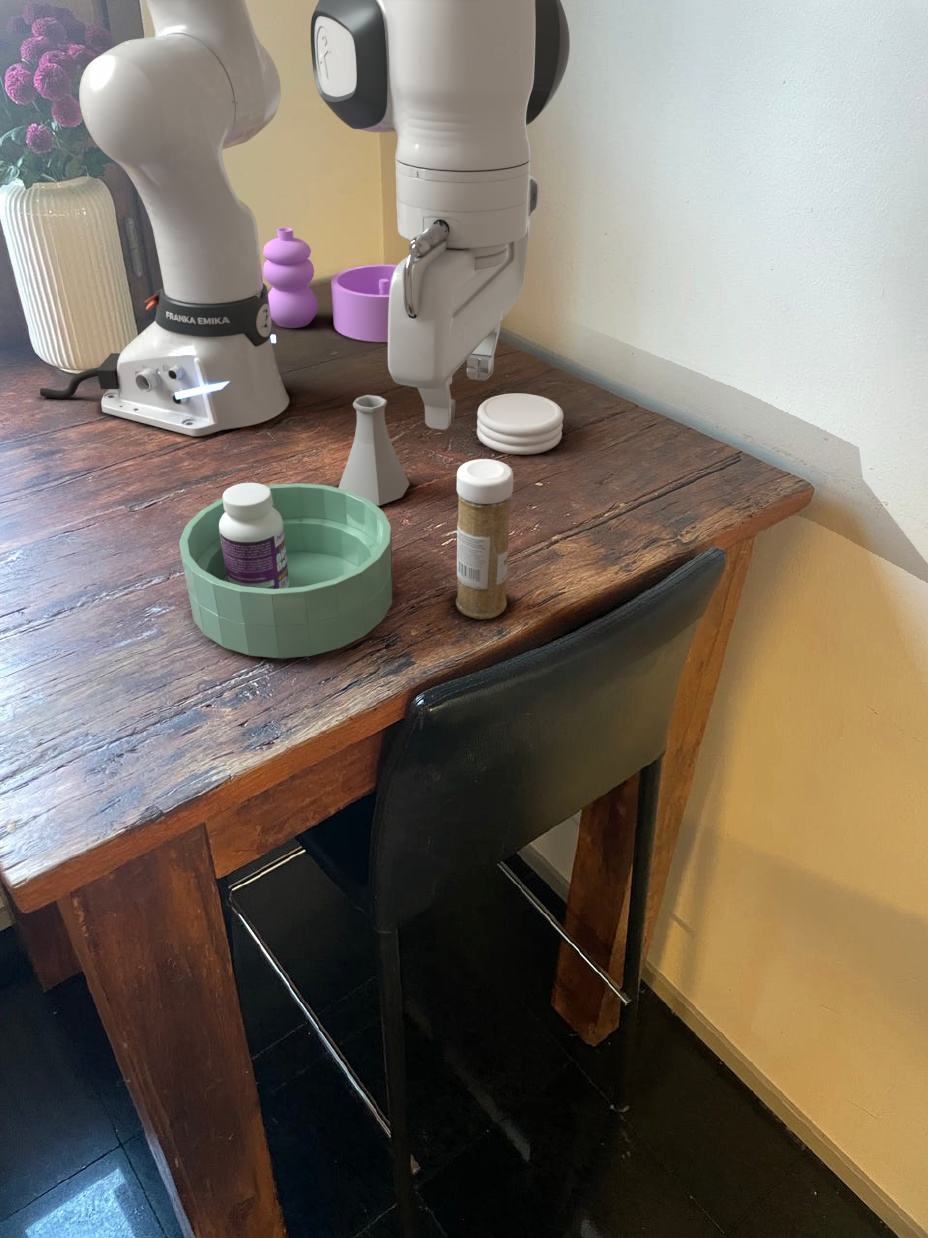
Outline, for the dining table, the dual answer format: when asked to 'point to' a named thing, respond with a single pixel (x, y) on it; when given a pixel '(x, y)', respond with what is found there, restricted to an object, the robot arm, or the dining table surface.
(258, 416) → the robot arm
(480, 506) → the sprinkles bottle
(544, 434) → the white round disc stack
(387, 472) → the flask
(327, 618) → the mint green bowl
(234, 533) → the pill bottle
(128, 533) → the dining table surface
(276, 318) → the container set
